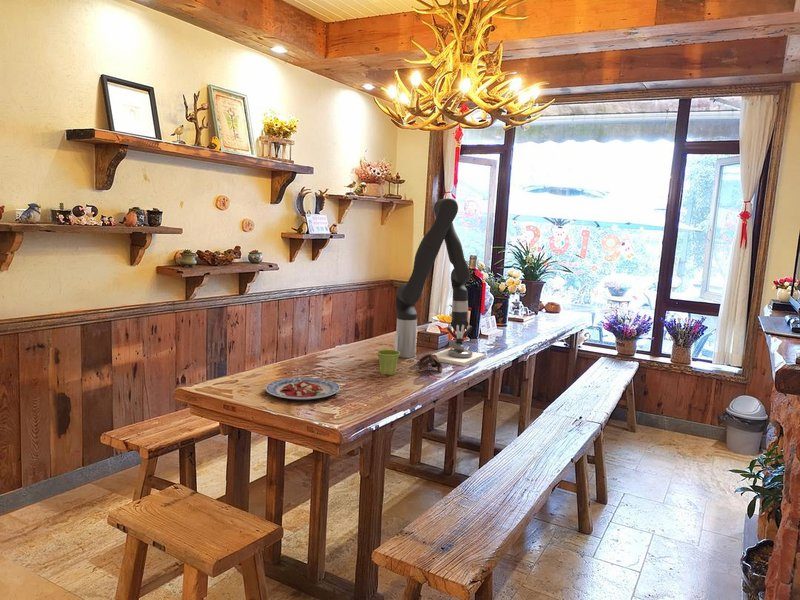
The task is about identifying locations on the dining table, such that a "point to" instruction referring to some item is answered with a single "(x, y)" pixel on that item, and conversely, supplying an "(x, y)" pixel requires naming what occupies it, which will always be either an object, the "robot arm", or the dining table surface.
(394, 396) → the dining table surface
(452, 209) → the robot arm
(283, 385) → the ceramic plate
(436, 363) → the brown mottled lump
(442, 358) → the dial base
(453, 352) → the dial
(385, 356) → the plant pot
